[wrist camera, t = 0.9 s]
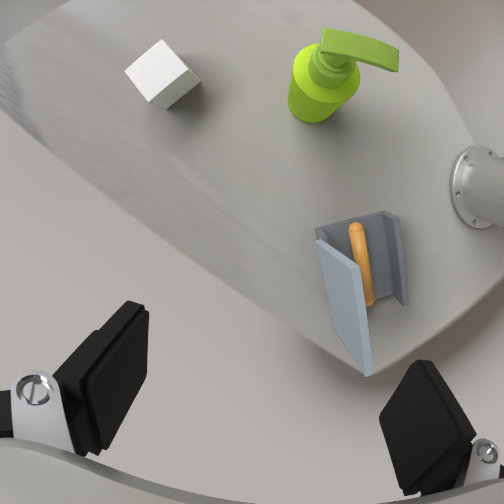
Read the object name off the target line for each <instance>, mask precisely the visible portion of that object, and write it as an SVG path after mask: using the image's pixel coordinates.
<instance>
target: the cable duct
mask: <svg viewBox="0 0 504 504" xmlns="http://www.w3.org/2000/svg"><path fill="white" fill-rule="evenodd" d="M315 231H316V235H317V239H318V240H319V239H321V240H323V241H324V242H326V243H327V244H329V245H330V246H332V247H333V248H334V249H336V250H337V251H339V252H340V253H342V254H343V255H345V256H346V257H347V258H349V259H350V260H352V261H353V262H355V263H356V264H357V265H359V267H360V273H361V279H362V285H363V291H364V298H365V305H366V306H371V305H372V304H373V303H374V301H375V300H376V299H379V298H382V297H386V296H389V295H392V294H394V295H395V297H396V298H397V299H398V301H399V302H400V303H401V304H402V306H407V305H408V292H407V279H406V269H405V259H404V251H403V243H402V236H401V229H400V223H399V218H398V217H396V216H394V215H392V214H390V213H388V212H386V211H382V212H378V213H374V214H370V215H366V216H363V217H359V218H355V219H351V220H347V221H343V222H339V223H336V224H332V225H328V226H324V227H320V228H316V229H315Z"/></svg>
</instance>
